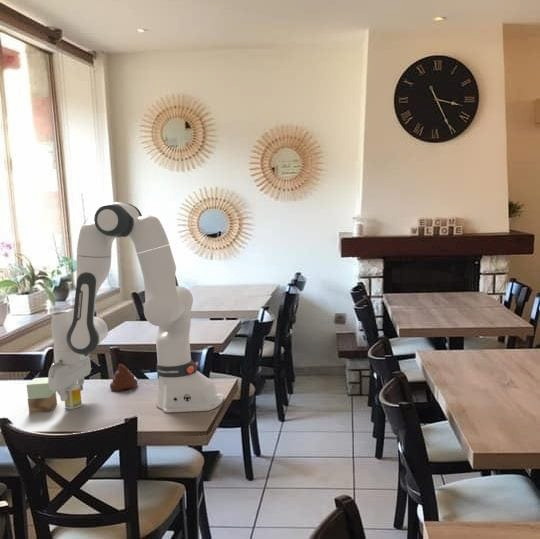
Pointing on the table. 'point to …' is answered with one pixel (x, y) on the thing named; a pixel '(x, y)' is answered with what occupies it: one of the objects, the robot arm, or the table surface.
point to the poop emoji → (123, 379)
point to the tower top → (38, 388)
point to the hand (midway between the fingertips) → (72, 395)
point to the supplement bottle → (73, 396)
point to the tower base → (42, 404)
